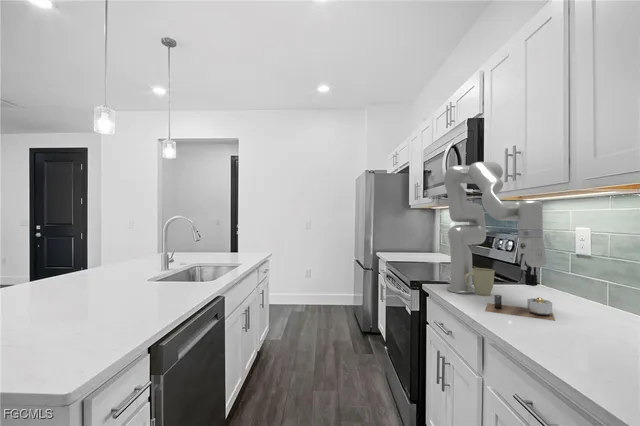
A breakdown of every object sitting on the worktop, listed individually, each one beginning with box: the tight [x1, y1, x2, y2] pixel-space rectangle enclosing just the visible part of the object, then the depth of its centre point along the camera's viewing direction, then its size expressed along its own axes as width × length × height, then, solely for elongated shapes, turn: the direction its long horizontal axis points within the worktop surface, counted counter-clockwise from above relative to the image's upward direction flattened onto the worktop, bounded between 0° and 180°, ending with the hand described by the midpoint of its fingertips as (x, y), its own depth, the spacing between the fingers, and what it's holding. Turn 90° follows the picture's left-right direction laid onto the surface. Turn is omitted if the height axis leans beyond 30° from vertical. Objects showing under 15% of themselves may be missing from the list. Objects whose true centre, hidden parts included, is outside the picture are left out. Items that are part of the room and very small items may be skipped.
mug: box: [465, 267, 496, 297], centre depth 144 cm, size 11×10×12 cm
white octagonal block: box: [526, 297, 553, 314], centre depth 115 cm, size 7×7×4 cm
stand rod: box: [493, 294, 503, 309], centre depth 122 cm, size 2×2×5 cm
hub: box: [530, 297, 549, 316], centre depth 115 cm, size 6×6×6 cm
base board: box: [484, 302, 556, 322], centre depth 119 cm, size 21×13×1 cm, turn 58°
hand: (531, 285), depth 118 cm, fingers closed
